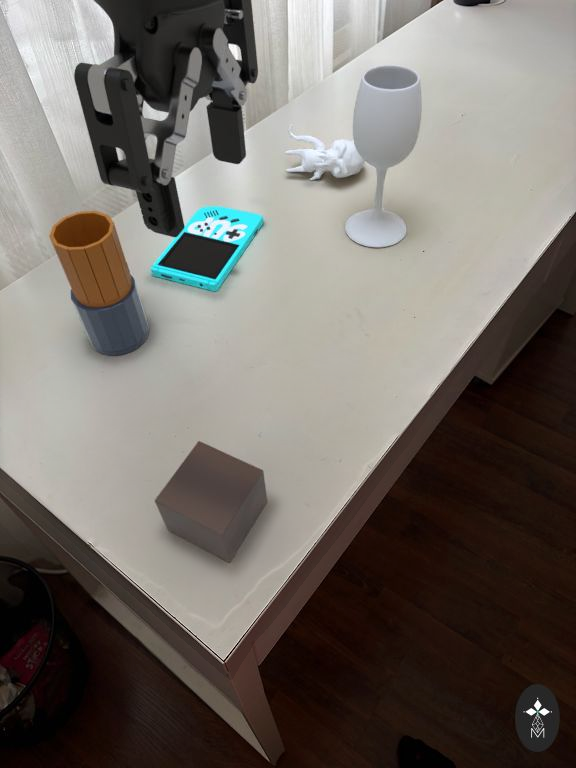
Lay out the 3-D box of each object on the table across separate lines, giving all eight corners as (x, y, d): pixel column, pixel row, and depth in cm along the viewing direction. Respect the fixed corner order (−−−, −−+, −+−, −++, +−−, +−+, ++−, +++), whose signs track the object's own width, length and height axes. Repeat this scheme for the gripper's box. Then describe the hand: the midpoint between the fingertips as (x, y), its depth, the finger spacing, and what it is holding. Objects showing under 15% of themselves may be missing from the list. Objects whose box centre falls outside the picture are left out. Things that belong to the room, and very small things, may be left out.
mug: (139, 358, 70) (123, 313, 64) (81, 353, 71) (60, 307, 65) (162, 300, 76) (150, 253, 70) (109, 295, 77) (92, 249, 71)
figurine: (278, 123, 88) (355, 116, 84) (301, 127, 96) (373, 122, 91) (280, 181, 91) (355, 178, 86) (303, 181, 99) (372, 178, 94)
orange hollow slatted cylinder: (107, 314, 64) (85, 256, 58) (62, 296, 66) (36, 238, 60) (143, 279, 67) (125, 220, 61) (99, 263, 70) (78, 205, 63)
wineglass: (410, 215, 86) (434, 63, 69) (401, 252, 81) (423, 98, 64) (352, 207, 87) (361, 57, 71) (339, 243, 82) (345, 90, 66)
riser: (229, 563, 54) (221, 535, 49) (167, 530, 56) (154, 500, 51) (267, 501, 58) (263, 470, 53) (207, 473, 60) (198, 440, 55)
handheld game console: (265, 222, 86) (265, 214, 85) (217, 293, 77) (216, 285, 76) (204, 209, 88) (203, 201, 87) (150, 275, 79) (148, 268, 78)
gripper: (156, -167, 31) (202, 131, 43) (-36, -95, 23) (88, 245, 35) (288, -162, 29) (296, 149, 41) (128, -80, 21) (198, 275, 33)
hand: (200, 193), depth 38 cm, fingers open, 8 cm apart
